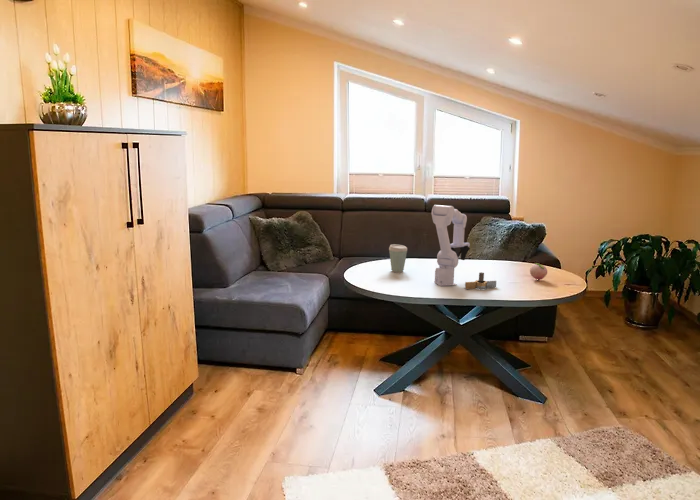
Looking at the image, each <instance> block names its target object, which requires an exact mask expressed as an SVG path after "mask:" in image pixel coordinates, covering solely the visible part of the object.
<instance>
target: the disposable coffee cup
mask: <svg viewBox="0 0 700 500" xmlns="http://www.w3.org/2000/svg"><path fill="white" fill-rule="evenodd" d="M388 251H389V261H390V269H391V272H392V273H397V274H398V273H400V274H401V273H403V271H404V270H405V263H406V259H407V253H408V247H407V246H405V245H403V244H395V243H393V244H390V245H389V247H388Z"/></svg>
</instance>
